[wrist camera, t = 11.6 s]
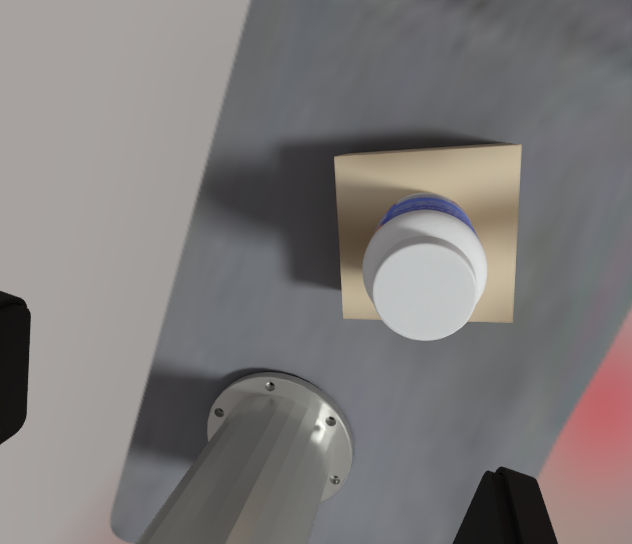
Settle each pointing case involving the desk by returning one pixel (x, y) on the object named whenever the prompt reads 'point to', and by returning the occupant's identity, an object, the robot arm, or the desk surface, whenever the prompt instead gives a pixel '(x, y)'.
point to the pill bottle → (424, 267)
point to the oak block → (440, 178)
